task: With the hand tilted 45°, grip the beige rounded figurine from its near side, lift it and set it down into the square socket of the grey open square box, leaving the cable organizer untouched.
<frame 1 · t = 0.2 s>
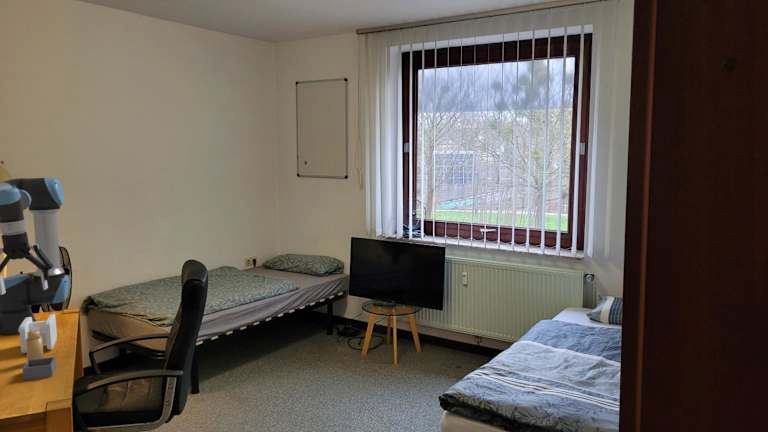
hand: (24, 291, 203), 27 cm above the table, tool pointing down, fingers open, 13 cm apart
grey open square box: (40, 373, 198), on the table
beige rounded figurine: (35, 362, 208), on the table
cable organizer: (39, 348, 223), on the table
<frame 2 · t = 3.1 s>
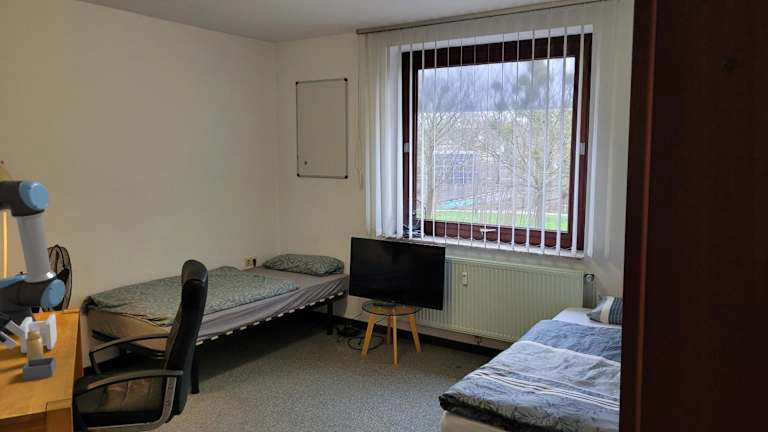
hand: (19, 340, 204), 9 cm above the table, tool tilted 45°, fingers open, 13 cm apart
nothing on the table moved.
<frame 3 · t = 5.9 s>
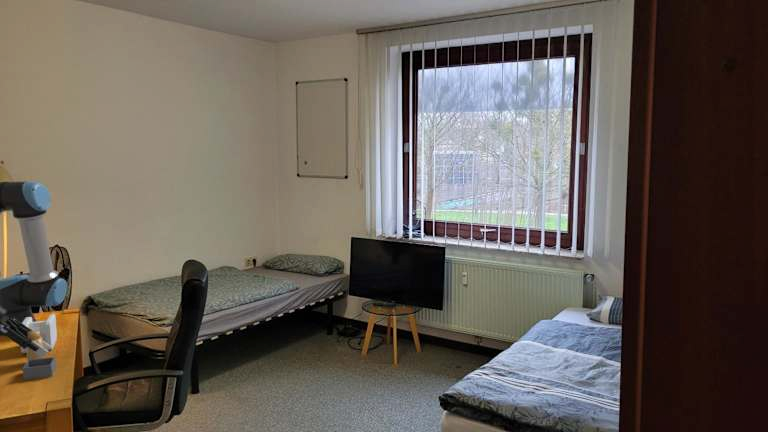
hand: (46, 352, 209), 3 cm above the table, tool tilted 45°, fingers closed on beige rounded figurine, 5 cm apart
beige rounded figurine: (35, 362, 208), on the table, touching gripper
everything else where it was.
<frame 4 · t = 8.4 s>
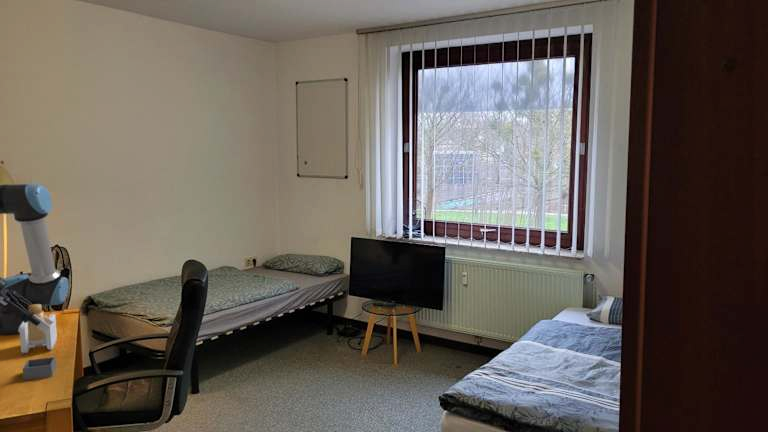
hand: (49, 327, 197), 16 cm above the table, tool tilted 45°, fingers closed on beige rounded figurine, 5 cm apart
beige rounded figurine: (37, 338, 196), point 13 cm above the table, touching gripper
everything else where it was.
when the fingers open (6 cm above the table, at t = 10.8 s): beige rounded figurine stays where it is, resting on grey open square box.
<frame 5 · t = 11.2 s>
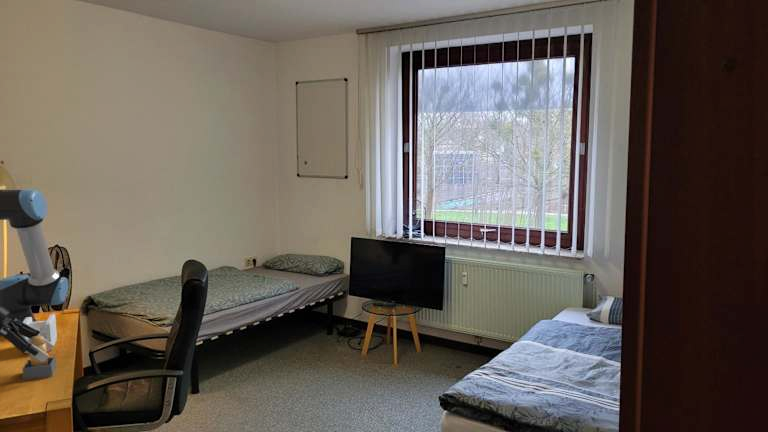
hand: (48, 353, 198), 7 cm above the table, tool tilted 45°, fingers open, 10 cm apart
beige rounded figurine: (39, 369, 198), point 2 cm above the table, touching grey open square box
everything else where it was.
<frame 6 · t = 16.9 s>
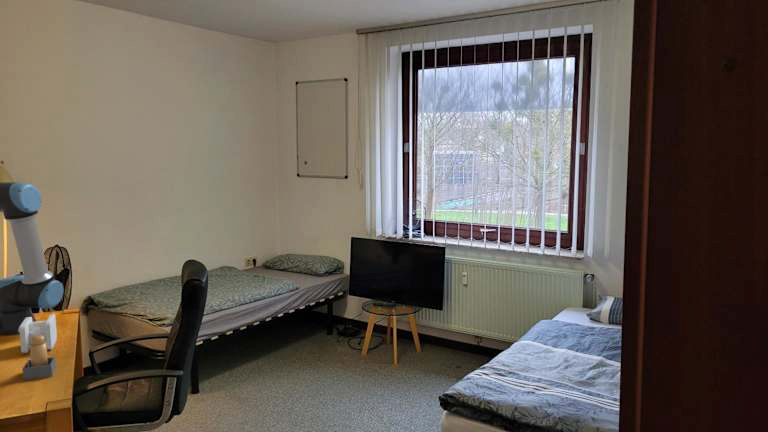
nothing on the table moved.
at the end: beige rounded figurine 0.1 cm off-centre on the grey open square box, point 1.6 cm above the grey open square box's base; beige rounded figurine tilted 1°; the gripper is holding nothing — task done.
